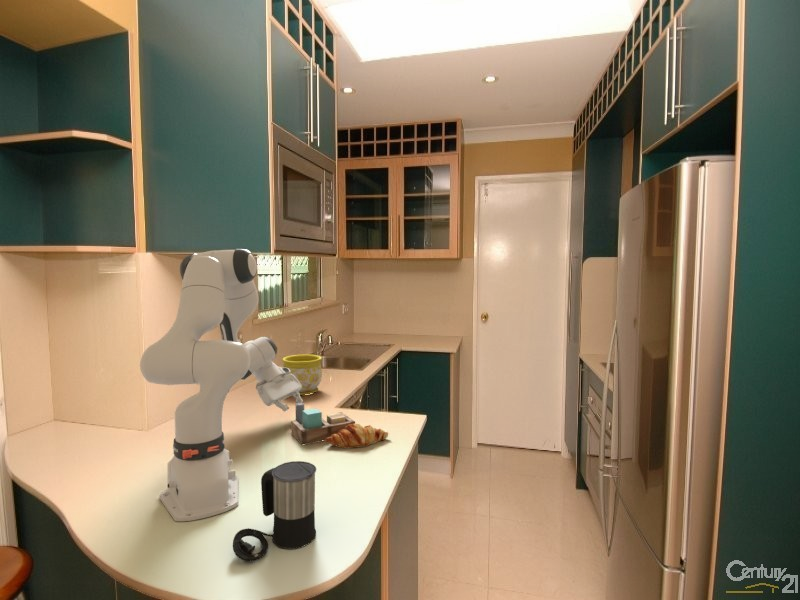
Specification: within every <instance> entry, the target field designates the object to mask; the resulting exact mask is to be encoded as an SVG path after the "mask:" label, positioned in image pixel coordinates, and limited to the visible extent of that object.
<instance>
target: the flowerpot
mask: <svg viewBox="0 0 800 600" xmlns="http://www.w3.org/2000/svg"><path fill="white" fill-rule="evenodd" d="M322 360H323V357H322V356H320V355H317V354H294V355H293V354H292V355H287V356H284V357H283V358H282V362H283V368H289V369H290V371H291V372H290V373H291V374H293V375H294V376H295V377H296V378H297V379H298V381H299V382H300V383H301V386H302V388H301V389H300V391H298V392H299V393H300V395H305V394H310V393H314V392H316V393H317V391H319V385H320V383H321V381H322V377H323V374H322V362H321V361H322ZM314 394H315V393H314Z"/></svg>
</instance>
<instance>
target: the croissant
mask: <svg viewBox="0 0 800 600" xmlns="http://www.w3.org/2000/svg"><path fill="white" fill-rule="evenodd" d="M388 436H389V432H388V431H385V430H383V429H381V428H376V427H373V426H372V425H371V424H370V425H365V426H363V425H361V424H360V423H355V424H348V425H347V426H345V429H342V430H340V431H339V432H338V434H333V435H331V436H330V437H327V438H326V440H325V441H326V443H327V444H328V445H333V446H336V447H337V448H342V449H343V448H348V447H349V448H351V449H352V448H353V447H355V448H361V447H362V448H363V446H364V447H367V446H369V445H372V444H376V443H378V442H379V441H384V440H386V439H387V438H388ZM353 449H354V448H353Z"/></svg>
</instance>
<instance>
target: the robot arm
mask: <svg viewBox="0 0 800 600" xmlns="http://www.w3.org/2000/svg"><path fill="white" fill-rule="evenodd" d="M257 271H258V265H257V261H256V258H255V255H254V253H253V252H251V250H248V249H244V248H236V249H221V250H217V249H216V250H208V251H205V252H200V253H192V254H189V255H187V256H185V257H184V258H183V259H182V260H181V262H180V265H179V273H180V278H181V280H182V282H181V288H180V294H179V295H180V297H179V303H178V308H177V309H178V310H177V314H176V318H175V320H174V322H173V324H172V325H171V327H170V329H169V330H167V332H166V333H165V334H164V335H163V337H161V338H160V339H158V340H157V341H155V342H154V343H153V344H151V345H149V346H148V347H147V348H146V349H145V351H144V352H143V354H142V356H141V358H140V362H139V366H140V372H141V374H142V376H143V378H144V379H145V380H146V381H147V382H148V383H150V384H156V385H164V386H165V385H166V386H182V385H183V386H185V385H199V392H197V393H196V394H194V395H191V396H190V397H188V398H186V399H184V400H182V401H181V402H180V403H179V404H178V405H177V407H176V408H175V411H174V435H175V436H174V438H173V444H172V449H173V455H174V456H173V457H172V458H171V459H170V460H169V462H167V467H166V468H167V473H166V474H167V478H166V479H167V488H166V489H164V490H163V491H161V492H160V493H159V500H160V502H161V503H162V504H163V506H164V507H165V509H166V510H167V512H168V513H169V514H170V516H171V517H172V518H173V521H175V522H188V521H189V522H190V521H195V520H201V519H205V518H209V517H213V516H217V515H219V514H220V515H221V514H223V513H225V512H227V511H228V512H229V511H230V510H232V509H234V508H236V507H237V506H238V505H239V483H240V482H239V476H238V475H236V469H230V466H233V459H230V451H229V450H228V449H226V447H225V445H226V444H225V442H226V441H225V436H224V435H225V434H224V432H223V410H224V409H223V408H224V403H225V400H226V397H227V395H228V393H229V392H230V390H231V389H232V388H233V387H234V385H235V384H237V383H238V382H239V381H240V380H246V379H247V378H249V377H250V376H251V375H252V374H253V376H254V377H255V379H256V381H257V383H256V384H255V389H256V391H257V394H258V395H259V398H260V399H261V400H262V403H263V404H264V405H265V406H267V407H270V406H272V405H275V406H276V407H277V408H279V409H280V410H282V411H283V413H284V412H286V411H288V410H289V408H290V407H289V406H288V404H285V403H284V402H282V400H285V399H288V398H289V397H293V398H295V402H296V404H297V403H303V401H304V400H303V398H302V396H300V393H299V392H298V391H300V389H301V388H302V386H301V383H300V382H299V381H298V379H297V378H296V377H295V376H294V375H293V374H291V373H290V372H291V371H290V369H289V368H284V366H283V367H282V366H278V365H277V364H276V363H275V362H274V361H273V360H274V359H275V358H277V354H278V346H277V345H276V343H275V342H274V341H273V340H272V339H271V338H269V337H267V336H260V337H258V338H256V339H253V340H248V341H246V342H244V343H242V342H239V338H238V332H239V330H240V328H241V326H242V325H243V324H244V323H245V322H246V321H247V319H248V318H250V317H251V315H253V314H254V312H255V311H256V309H257V307H258V306H259V301H260V300H259V299H260V298H259V292H258V289H257V285H256V284H255V281H254V279H255V277H256V275H257V274H258V273H257ZM217 327H219V329H220V336H221V339H218V340H217V339H216V340H215V339H214V340H200V339H201V337H203V336H204V335H205V334H206V333H209V332H210V331H213V330H215V329H216V328H217Z"/></svg>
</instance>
